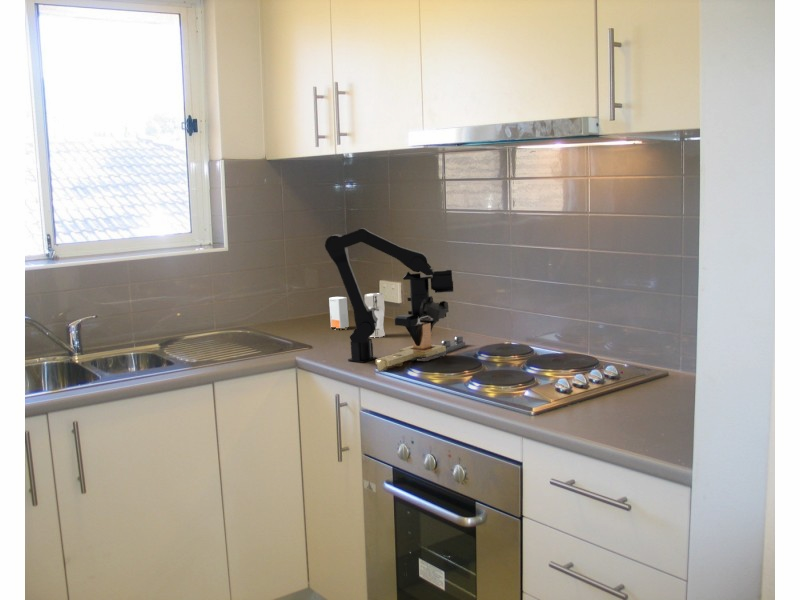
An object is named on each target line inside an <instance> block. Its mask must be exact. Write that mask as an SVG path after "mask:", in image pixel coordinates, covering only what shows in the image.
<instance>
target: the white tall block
mask: <svg viewBox="0 0 800 600" xmlns="http://www.w3.org/2000/svg"><path fill="white" fill-rule="evenodd" d="M364 302H365V304H366V305H367V307H368V308H369V309H371V308H374V313H375V316H376V317H377V318H378V320H377V327H376V329H375V331H374V333H373V334H372V335H371V336H370V337H374V338H373V339H376V338H375V337H379V338H384V337H385V336H386V333H385V330H384V319H385V310H386V309H385V299H384V293H382V292H370V293H365V294H364ZM383 336H384V337H383Z"/></svg>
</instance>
